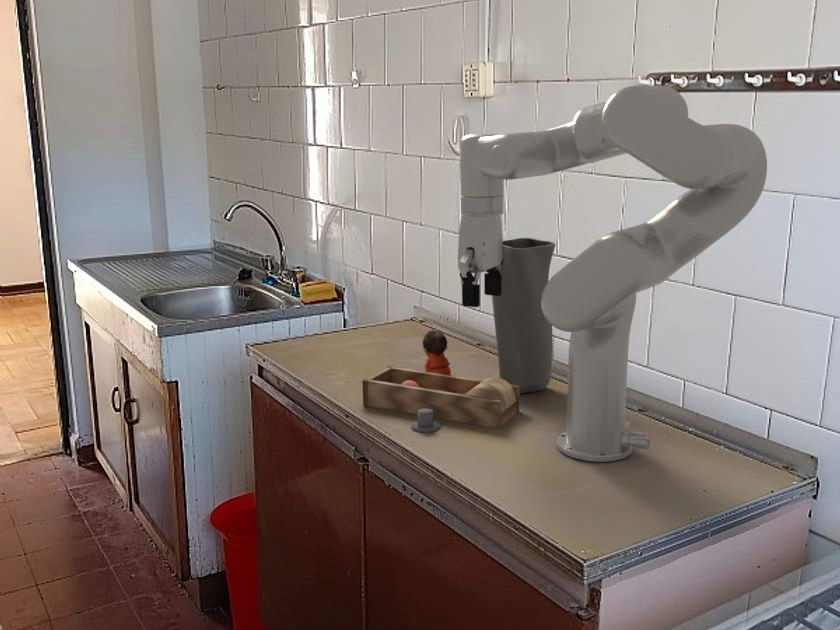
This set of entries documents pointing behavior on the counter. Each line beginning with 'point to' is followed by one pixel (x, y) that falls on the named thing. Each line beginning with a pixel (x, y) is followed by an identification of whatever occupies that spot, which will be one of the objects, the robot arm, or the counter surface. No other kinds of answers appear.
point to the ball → (410, 383)
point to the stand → (425, 421)
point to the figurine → (436, 353)
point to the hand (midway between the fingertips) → (482, 300)
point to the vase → (524, 315)
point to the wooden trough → (443, 396)
